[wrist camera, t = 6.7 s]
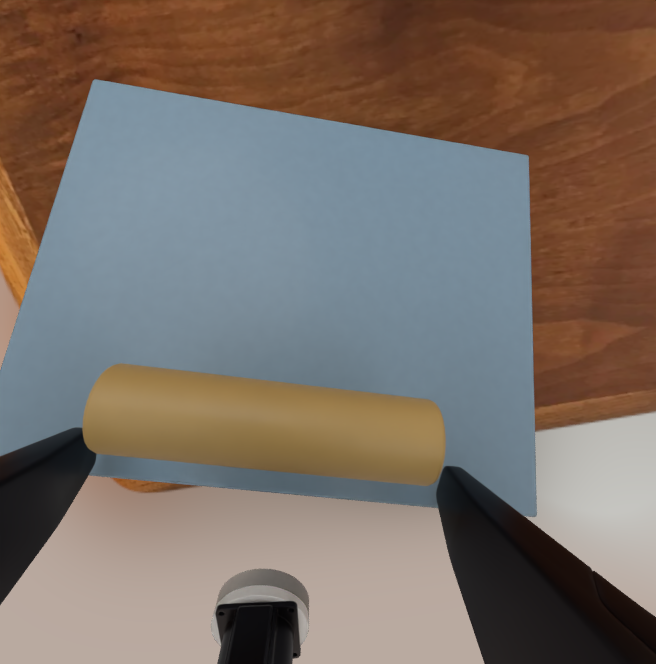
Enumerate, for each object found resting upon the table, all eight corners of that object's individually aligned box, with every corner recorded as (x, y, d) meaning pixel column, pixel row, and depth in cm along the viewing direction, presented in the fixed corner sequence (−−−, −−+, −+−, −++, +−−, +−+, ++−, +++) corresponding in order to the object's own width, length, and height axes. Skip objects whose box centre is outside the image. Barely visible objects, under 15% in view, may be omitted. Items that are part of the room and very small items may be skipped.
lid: (520, 510, 11) (718, 598, 6) (-6, 460, 10) (-328, 517, 5) (516, 169, 14) (648, 28, 9) (105, 98, 12) (-23, -113, 7)
